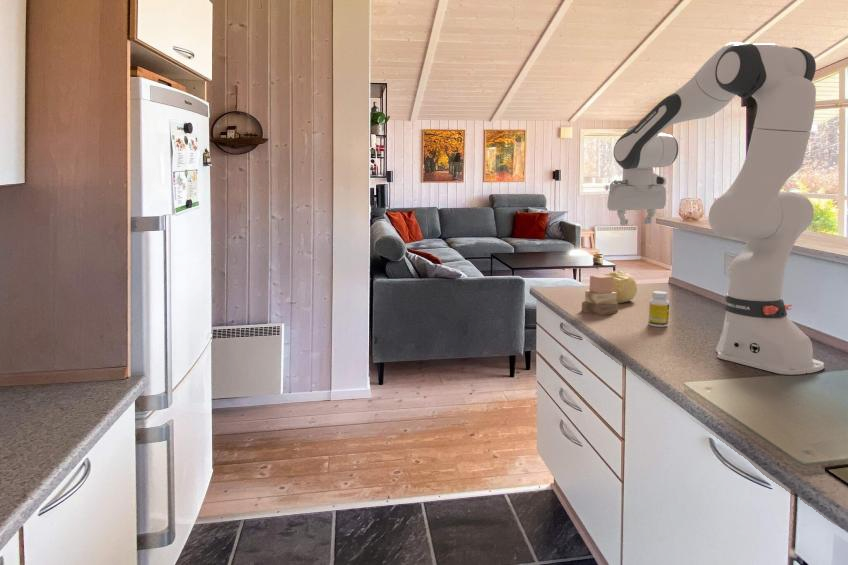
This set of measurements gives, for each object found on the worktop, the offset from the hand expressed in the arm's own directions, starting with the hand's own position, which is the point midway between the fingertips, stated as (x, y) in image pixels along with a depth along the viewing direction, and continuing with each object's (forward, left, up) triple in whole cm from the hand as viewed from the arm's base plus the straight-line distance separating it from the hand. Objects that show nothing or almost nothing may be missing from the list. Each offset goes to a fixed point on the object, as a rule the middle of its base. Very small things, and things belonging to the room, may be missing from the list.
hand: (635, 224), depth 178 cm
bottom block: (+5, +8, -29) cm, 30 cm away
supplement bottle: (-16, +4, -28) cm, 33 cm away
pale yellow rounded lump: (+16, -8, -28) cm, 34 cm away
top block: (+5, +8, -25) cm, 27 cm away
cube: (+5, +8, -22) cm, 24 cm away
